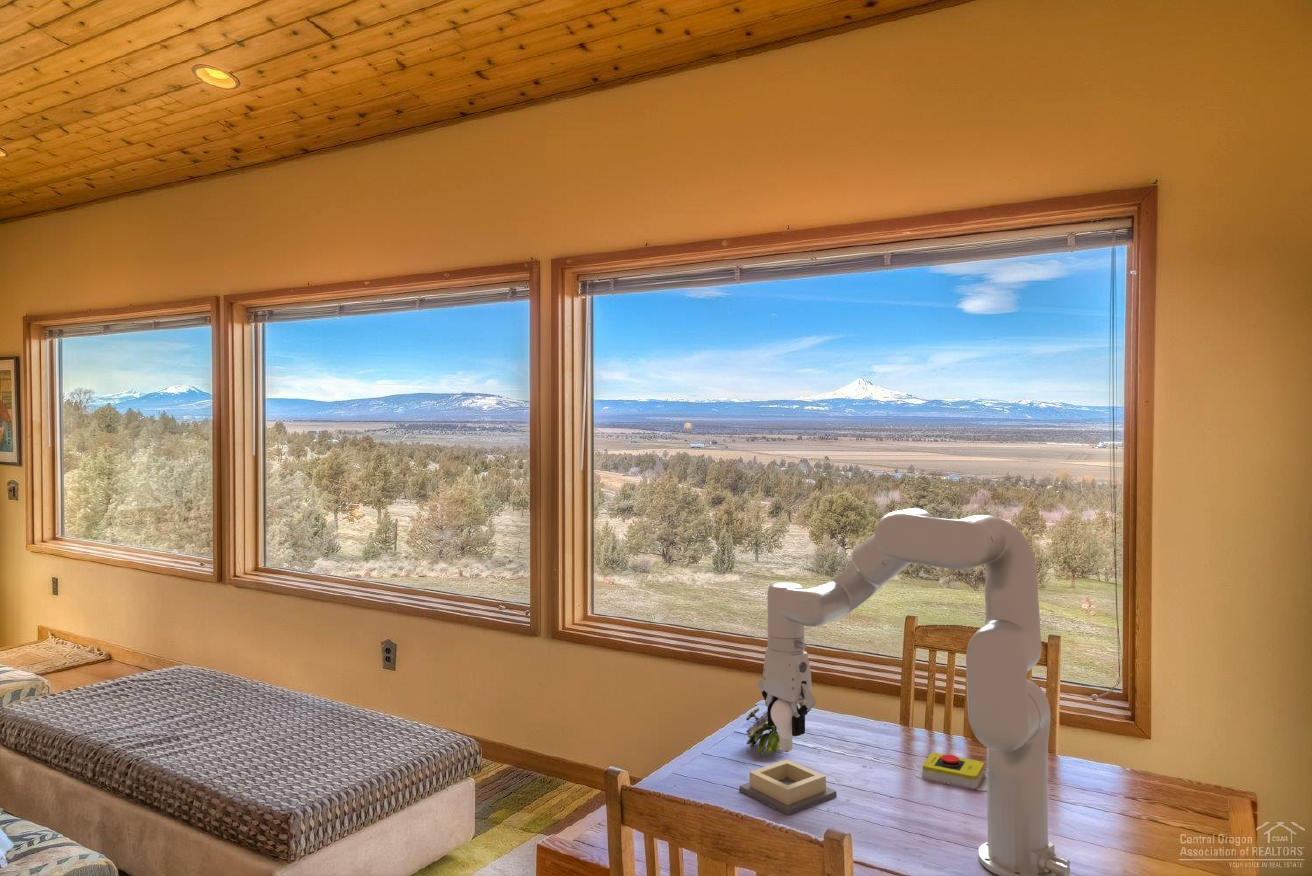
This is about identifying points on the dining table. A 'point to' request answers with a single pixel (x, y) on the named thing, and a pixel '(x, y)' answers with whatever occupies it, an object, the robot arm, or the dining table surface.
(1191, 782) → the dining table surface
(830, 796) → the socket block
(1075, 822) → the dining table surface
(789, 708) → the lightbulb
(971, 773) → the emergency button
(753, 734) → the green leafy plant
